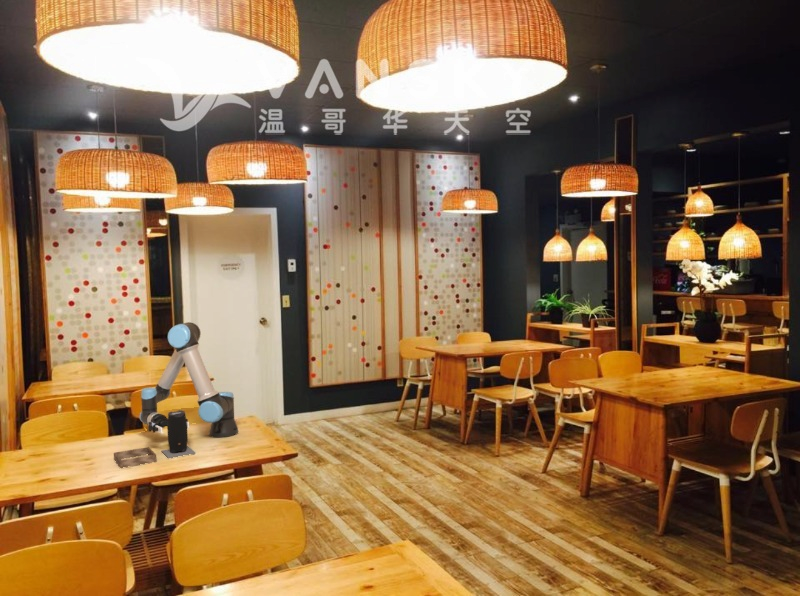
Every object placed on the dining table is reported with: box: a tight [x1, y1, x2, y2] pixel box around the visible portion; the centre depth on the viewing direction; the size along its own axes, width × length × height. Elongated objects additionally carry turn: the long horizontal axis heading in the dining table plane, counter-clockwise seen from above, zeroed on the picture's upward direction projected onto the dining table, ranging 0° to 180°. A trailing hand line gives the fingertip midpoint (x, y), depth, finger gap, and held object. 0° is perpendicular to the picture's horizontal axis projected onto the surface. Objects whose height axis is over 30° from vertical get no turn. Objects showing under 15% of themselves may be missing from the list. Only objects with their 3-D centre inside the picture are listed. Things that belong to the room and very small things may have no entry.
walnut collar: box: [113, 446, 158, 469], centre depth 305 cm, size 16×16×4 cm
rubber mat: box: [161, 445, 196, 459], centre depth 316 cm, size 13×13×1 cm
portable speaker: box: [166, 409, 189, 453], centre depth 315 cm, size 9×9×20 cm
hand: (175, 427), depth 317 cm, fingers open, 13 cm apart
